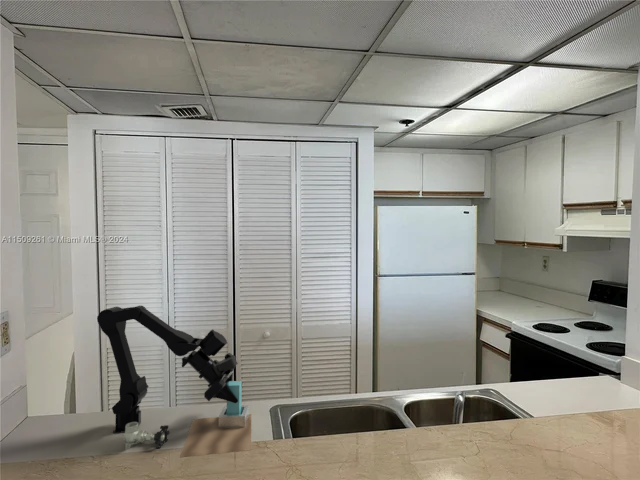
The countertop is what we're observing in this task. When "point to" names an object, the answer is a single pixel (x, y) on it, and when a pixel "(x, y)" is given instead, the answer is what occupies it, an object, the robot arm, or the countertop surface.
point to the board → (216, 438)
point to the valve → (143, 435)
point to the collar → (233, 418)
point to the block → (237, 391)
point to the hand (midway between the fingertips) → (238, 399)
